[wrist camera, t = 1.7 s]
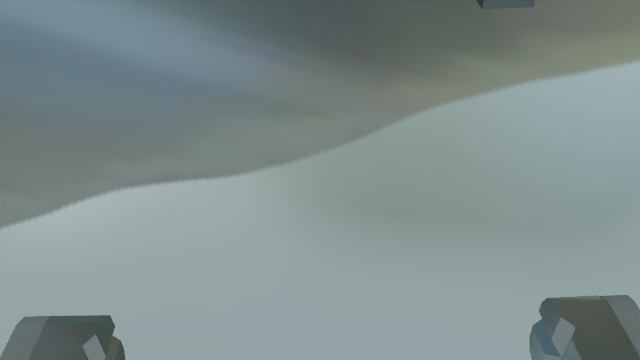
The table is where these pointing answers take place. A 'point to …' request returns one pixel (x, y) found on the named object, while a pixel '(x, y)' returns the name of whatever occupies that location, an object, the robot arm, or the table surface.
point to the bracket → (505, 3)
